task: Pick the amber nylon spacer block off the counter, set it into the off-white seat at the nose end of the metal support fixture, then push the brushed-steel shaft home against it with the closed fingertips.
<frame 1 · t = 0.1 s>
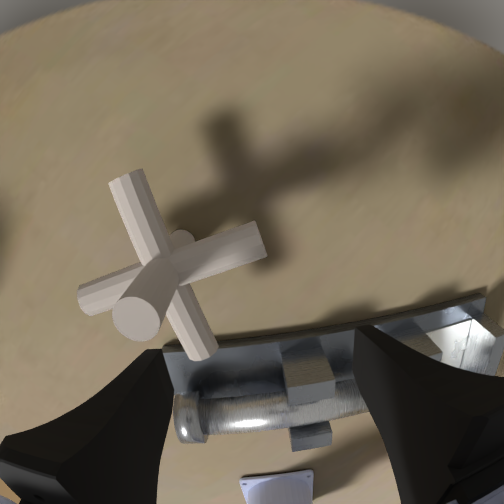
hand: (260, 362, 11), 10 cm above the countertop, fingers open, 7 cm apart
shaft: (274, 410, 20), point 3 cm above the countertop, slide at 5.0 cm
pipe connector: (182, 242, 20), on the countertop
metal support fixture: (360, 366, 24), on the countertop
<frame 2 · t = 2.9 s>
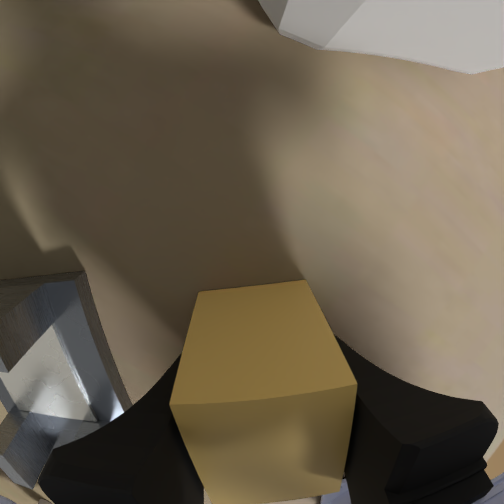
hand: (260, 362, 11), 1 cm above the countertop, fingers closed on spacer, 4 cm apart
spacer: (258, 342, 12), on the countertop, touching gripper
pipe connector: (48, 502, 18), on the countertop
metal support fixture: (93, 453, 15), on the countertop
when the fingers open (4 cm above the countertop, at t = 5.5 s): spacer stays where it is, resting on metal support fixture.
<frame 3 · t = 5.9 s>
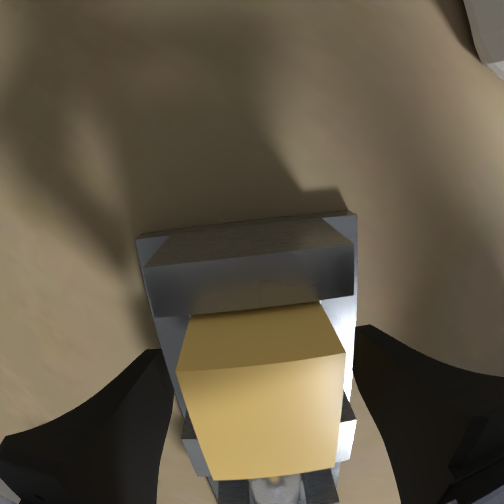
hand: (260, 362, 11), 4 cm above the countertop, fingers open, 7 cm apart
soap bottle: (503, 25, 10), on the countertop
spacer: (257, 326, 13), point 1 cm above the countertop, touching metal support fixture
metal support fixture: (268, 421, 17), on the countertop
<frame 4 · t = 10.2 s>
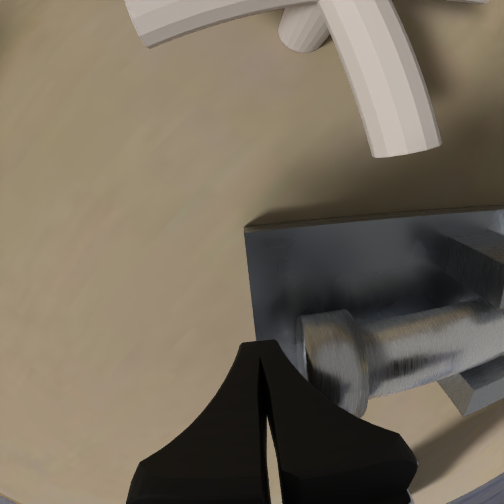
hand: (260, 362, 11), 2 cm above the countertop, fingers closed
shaft: (464, 335, 10), point 3 cm above the countertop, slide at 4.2 cm, touching gripper
pipe connector: (300, 34, 10), on the countertop
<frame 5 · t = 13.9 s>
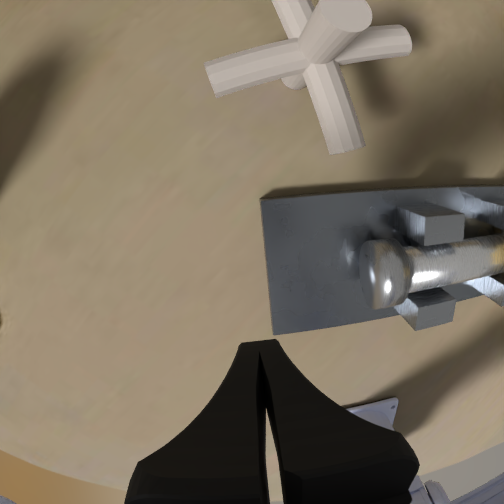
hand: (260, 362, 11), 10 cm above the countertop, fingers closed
shaft: (459, 260, 18), point 3 cm above the countertop, slide at 0.0 cm
pipe connector: (295, 76, 17), on the countertop
metal support fixture: (457, 243, 21), on the countertop
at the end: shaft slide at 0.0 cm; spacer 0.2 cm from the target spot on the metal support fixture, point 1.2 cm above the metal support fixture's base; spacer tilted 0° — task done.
